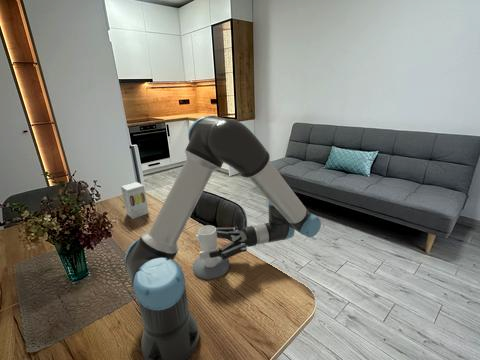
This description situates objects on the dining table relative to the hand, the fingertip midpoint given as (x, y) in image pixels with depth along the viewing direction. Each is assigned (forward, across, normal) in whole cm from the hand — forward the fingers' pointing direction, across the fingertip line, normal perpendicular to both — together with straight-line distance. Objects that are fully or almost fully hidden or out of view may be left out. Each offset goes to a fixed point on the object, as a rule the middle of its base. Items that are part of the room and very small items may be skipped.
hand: (197, 246), depth 94 cm
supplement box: (+28, +58, -10) cm, 65 cm away
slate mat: (-4, 0, -10) cm, 11 cm away
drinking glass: (-4, 0, -9) cm, 10 cm away
